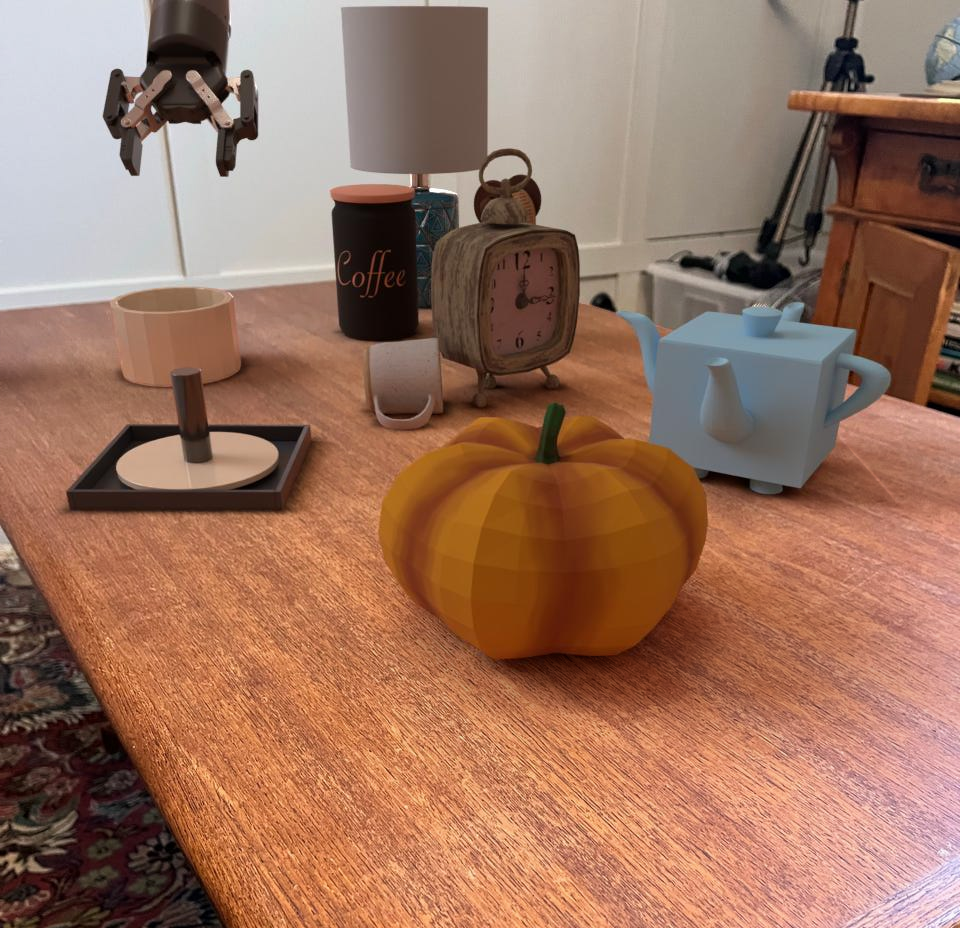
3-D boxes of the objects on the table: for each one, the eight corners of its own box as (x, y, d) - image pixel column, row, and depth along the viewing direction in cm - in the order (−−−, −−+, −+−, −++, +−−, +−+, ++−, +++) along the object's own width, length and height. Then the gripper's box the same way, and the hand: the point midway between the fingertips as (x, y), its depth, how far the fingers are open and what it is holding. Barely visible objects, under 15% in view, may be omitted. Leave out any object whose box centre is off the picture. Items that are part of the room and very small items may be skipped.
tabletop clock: (476, 416, 107) (476, 156, 95) (425, 396, 113) (418, 149, 101) (574, 390, 115) (587, 147, 103) (522, 372, 121) (527, 141, 109)
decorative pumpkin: (384, 557, 79) (374, 364, 71) (664, 549, 80) (684, 359, 72) (380, 704, 61) (367, 471, 54) (737, 691, 63) (774, 461, 55)
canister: (108, 389, 116) (93, 313, 111) (142, 356, 127) (130, 286, 123) (227, 389, 115) (217, 313, 111) (250, 356, 127) (242, 286, 123)
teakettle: (883, 499, 89) (921, 328, 81) (686, 521, 85) (707, 343, 77) (775, 429, 104) (799, 280, 97) (604, 444, 100) (615, 291, 93)
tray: (70, 513, 86) (65, 491, 85) (130, 443, 100) (126, 424, 99) (282, 513, 86) (280, 491, 85) (311, 443, 100) (310, 424, 99)
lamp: (391, 325, 141) (377, 5, 121) (339, 297, 155) (318, 8, 136) (510, 309, 149) (515, 6, 129) (450, 284, 163) (446, 9, 144)
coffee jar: (328, 341, 133) (316, 193, 124) (355, 322, 142) (347, 182, 133) (405, 346, 131) (400, 196, 122) (428, 326, 140) (425, 185, 131)
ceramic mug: (368, 401, 112) (364, 330, 108) (442, 399, 112) (441, 329, 108) (364, 435, 103) (359, 360, 99) (444, 434, 103) (443, 359, 99)
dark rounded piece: (527, 366, 124) (532, 188, 113) (427, 349, 130) (423, 179, 120) (582, 339, 135) (590, 174, 124) (487, 325, 141) (487, 167, 131)
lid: (96, 501, 87) (74, 396, 82) (144, 443, 99) (127, 348, 94) (264, 502, 87) (251, 396, 82) (291, 443, 99) (282, 348, 94)
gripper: (104, -4, 96) (86, 141, 92) (254, -3, 96) (243, 142, 92) (130, 59, 103) (115, 196, 99) (270, 60, 103) (260, 197, 99)
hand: (177, 170), depth 96 cm, fingers open, 8 cm apart
